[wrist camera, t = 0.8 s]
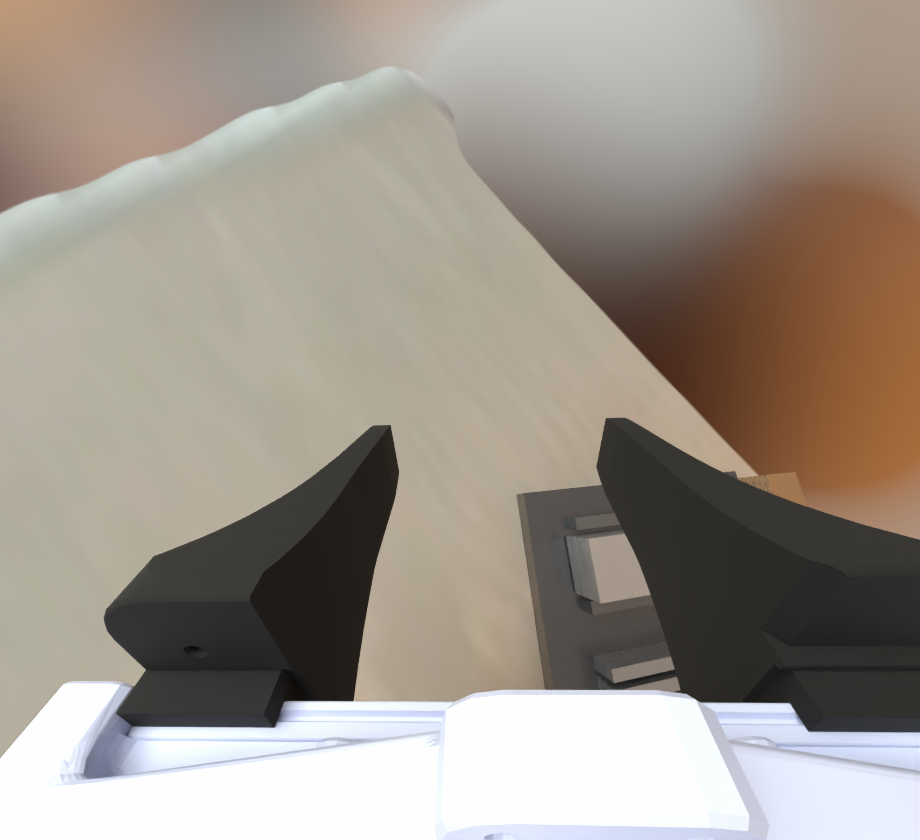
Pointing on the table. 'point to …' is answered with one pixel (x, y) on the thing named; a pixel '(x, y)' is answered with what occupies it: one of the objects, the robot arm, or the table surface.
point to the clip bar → (605, 567)
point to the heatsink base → (586, 621)
